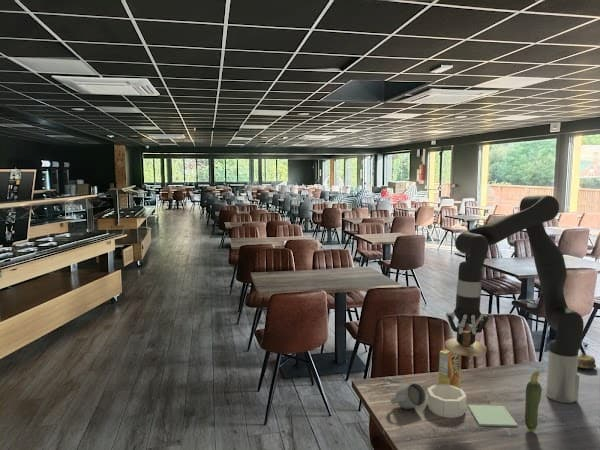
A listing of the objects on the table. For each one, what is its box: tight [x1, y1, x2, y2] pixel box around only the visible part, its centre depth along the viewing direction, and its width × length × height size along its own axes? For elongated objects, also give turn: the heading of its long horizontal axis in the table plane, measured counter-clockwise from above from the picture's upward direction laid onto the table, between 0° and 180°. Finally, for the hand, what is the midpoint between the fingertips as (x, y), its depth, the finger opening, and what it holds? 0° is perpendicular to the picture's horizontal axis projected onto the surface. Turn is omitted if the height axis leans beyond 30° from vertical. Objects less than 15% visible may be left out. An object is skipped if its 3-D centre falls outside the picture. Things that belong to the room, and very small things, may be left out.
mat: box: [467, 404, 519, 428], centre depth 151 cm, size 12×12×1 cm
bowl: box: [426, 383, 467, 419], centre depth 156 cm, size 12×12×6 cm
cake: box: [577, 352, 597, 369], centre depth 191 cm, size 10×10×5 cm
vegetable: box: [524, 371, 543, 433], centre depth 142 cm, size 4×4×20 cm
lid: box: [444, 330, 487, 357], centre depth 151 cm, size 13×13×6 cm
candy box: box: [438, 348, 463, 388], centre depth 170 cm, size 9×4×15 cm, turn 129°
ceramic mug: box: [390, 382, 427, 410], centre depth 155 cm, size 11×8×8 cm
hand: (465, 343), depth 151 cm, fingers closed on lid, 3 cm apart
